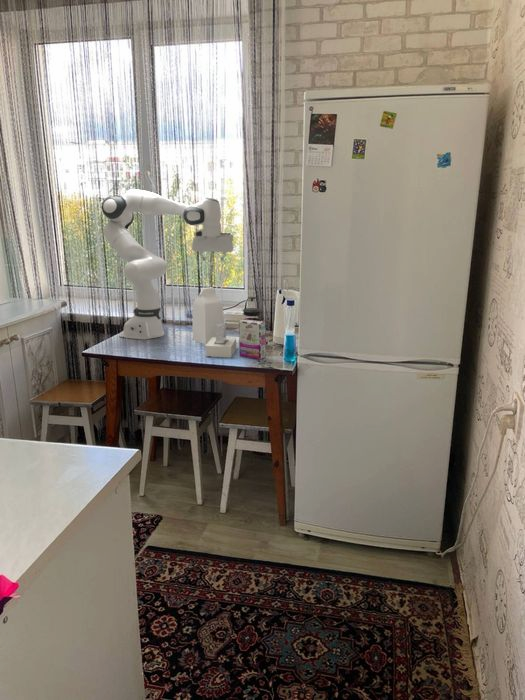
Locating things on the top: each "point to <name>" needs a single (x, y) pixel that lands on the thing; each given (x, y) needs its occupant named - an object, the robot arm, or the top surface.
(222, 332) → the block
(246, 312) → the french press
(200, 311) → the milk
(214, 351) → the slotted post base
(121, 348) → the top surface
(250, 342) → the candy bar box
